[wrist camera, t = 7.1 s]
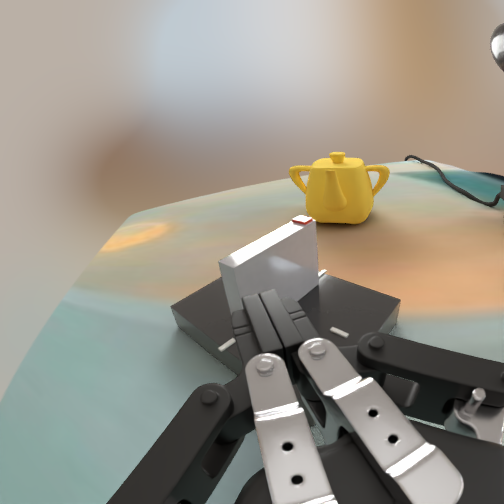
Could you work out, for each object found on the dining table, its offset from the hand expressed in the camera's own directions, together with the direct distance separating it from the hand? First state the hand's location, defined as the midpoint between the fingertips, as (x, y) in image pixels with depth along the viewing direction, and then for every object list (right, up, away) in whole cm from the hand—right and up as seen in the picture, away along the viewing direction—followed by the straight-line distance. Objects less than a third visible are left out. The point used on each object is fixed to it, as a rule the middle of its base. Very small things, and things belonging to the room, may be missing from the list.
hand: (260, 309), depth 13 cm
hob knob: (+2, -2, +11) cm, 11 cm away
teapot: (+14, +8, +32) cm, 35 cm away
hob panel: (+2, -4, +12) cm, 13 cm away
